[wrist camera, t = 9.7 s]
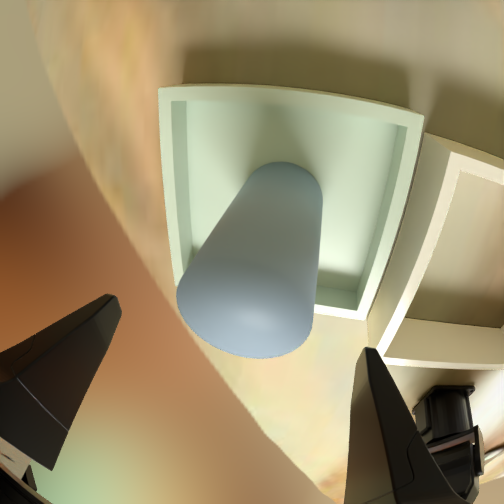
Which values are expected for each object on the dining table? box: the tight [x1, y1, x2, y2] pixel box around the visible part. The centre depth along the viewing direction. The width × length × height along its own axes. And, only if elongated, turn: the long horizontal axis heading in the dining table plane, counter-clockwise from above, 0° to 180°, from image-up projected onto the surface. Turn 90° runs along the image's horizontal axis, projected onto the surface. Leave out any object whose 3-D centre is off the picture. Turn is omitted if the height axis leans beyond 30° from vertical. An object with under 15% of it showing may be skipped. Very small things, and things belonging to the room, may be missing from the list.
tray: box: [158, 83, 424, 320], centre depth 18 cm, size 14×14×3 cm
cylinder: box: [176, 162, 323, 359], centre depth 15 cm, size 5×5×10 cm
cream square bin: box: [367, 132, 504, 370], centre depth 16 cm, size 16×16×4 cm
